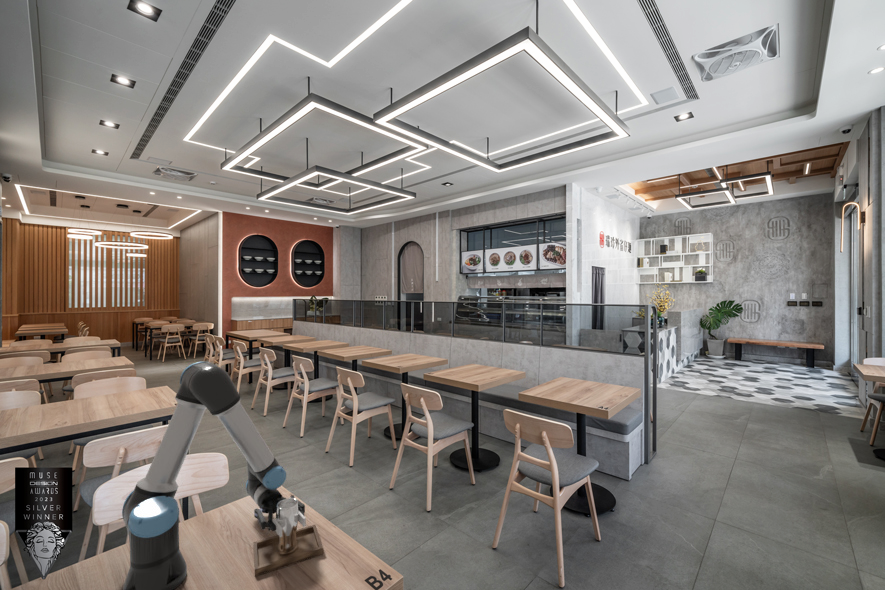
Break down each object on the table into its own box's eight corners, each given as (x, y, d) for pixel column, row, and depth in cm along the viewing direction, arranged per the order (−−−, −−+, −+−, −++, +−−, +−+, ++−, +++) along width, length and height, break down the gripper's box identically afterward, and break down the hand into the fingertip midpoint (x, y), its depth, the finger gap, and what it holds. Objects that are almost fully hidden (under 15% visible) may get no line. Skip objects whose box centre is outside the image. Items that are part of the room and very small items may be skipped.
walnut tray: (254, 576, 116) (254, 569, 116) (253, 548, 128) (253, 542, 128) (322, 554, 125) (322, 547, 125) (315, 530, 138) (315, 524, 138)
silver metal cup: (290, 556, 123) (290, 510, 122) (271, 554, 124) (271, 507, 124) (302, 542, 129) (302, 498, 129) (284, 540, 131) (284, 496, 131)
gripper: (295, 498, 146) (322, 525, 130) (238, 519, 133) (260, 553, 116) (295, 478, 146) (322, 503, 129) (238, 498, 133) (260, 529, 116)
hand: (293, 527), depth 123 cm, fingers open, 7 cm apart
